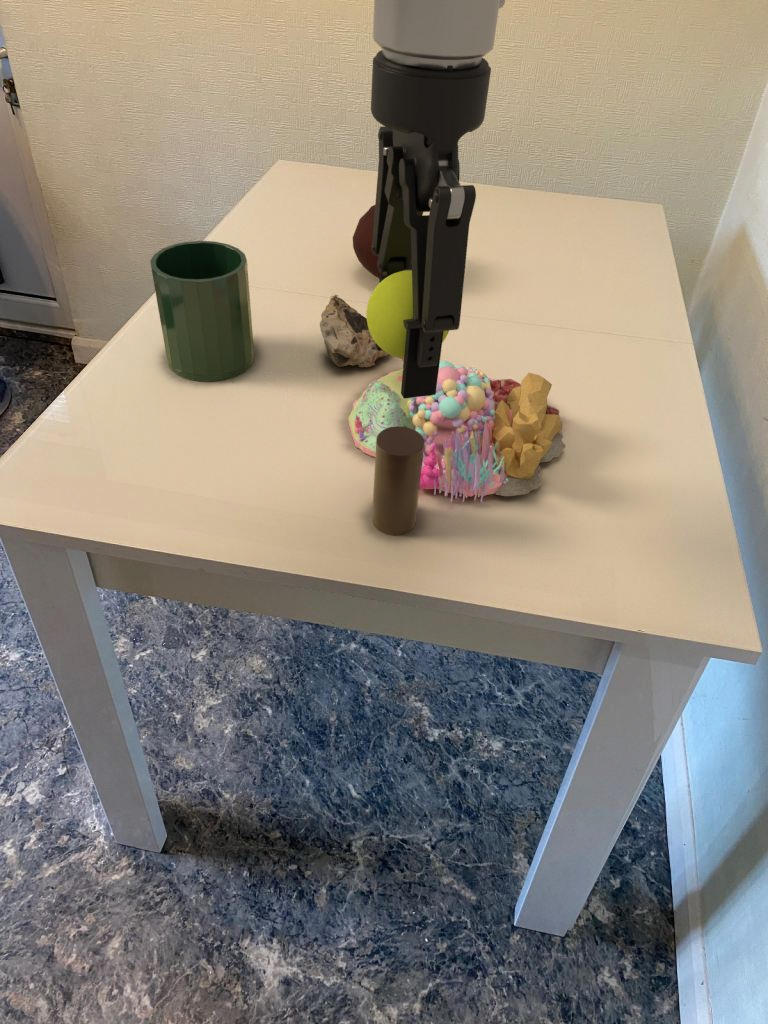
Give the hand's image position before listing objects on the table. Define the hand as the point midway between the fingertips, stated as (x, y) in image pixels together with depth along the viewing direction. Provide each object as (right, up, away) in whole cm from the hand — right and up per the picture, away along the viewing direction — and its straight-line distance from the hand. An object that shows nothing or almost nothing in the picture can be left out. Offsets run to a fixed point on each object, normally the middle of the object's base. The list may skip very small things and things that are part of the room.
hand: (404, 369), depth 62 cm
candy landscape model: (+6, -3, +23) cm, 24 cm away
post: (-1, -13, +12) cm, 18 cm away
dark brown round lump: (-1, +24, +52) cm, 57 cm away
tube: (-24, +8, +32) cm, 41 cm away
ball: (0, +4, -3) cm, 5 cm away
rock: (-5, +8, +34) cm, 35 cm away
